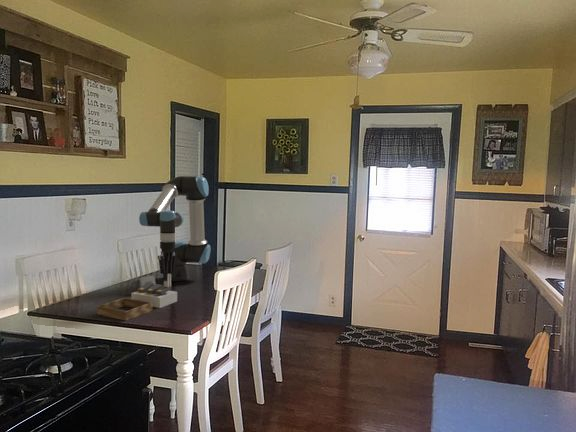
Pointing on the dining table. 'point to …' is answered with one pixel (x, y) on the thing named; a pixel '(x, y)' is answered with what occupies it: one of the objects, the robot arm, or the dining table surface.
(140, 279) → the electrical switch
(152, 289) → the rocker
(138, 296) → the switch unit
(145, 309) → the tray
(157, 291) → the rocker
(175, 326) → the dining table surface
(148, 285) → the rocker
